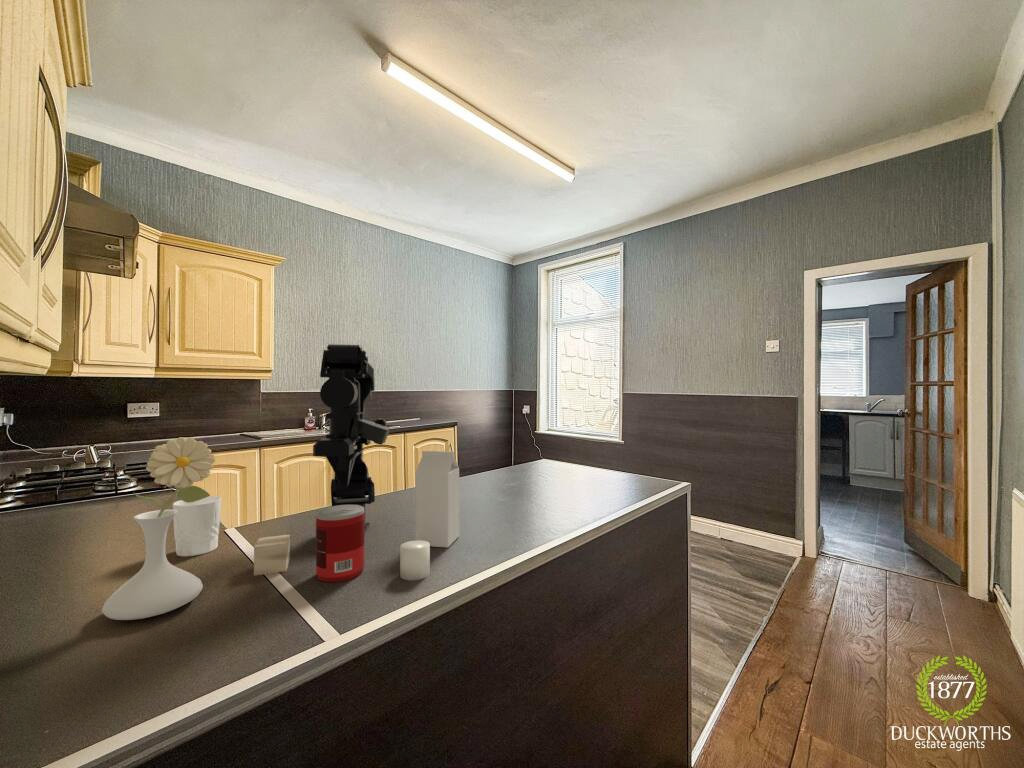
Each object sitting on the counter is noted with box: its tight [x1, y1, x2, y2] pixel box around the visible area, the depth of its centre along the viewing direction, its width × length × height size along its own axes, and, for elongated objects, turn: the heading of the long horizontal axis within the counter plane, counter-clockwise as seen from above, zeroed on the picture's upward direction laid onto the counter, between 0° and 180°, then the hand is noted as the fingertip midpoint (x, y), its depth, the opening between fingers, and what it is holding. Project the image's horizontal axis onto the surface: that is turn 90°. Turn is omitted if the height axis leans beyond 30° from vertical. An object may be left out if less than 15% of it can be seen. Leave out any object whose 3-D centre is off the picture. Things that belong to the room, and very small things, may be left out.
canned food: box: [315, 505, 366, 583], centre depth 75 cm, size 8×8×11 cm
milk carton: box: [415, 450, 460, 548], centre depth 91 cm, size 7×7×19 cm
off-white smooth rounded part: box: [399, 539, 431, 581], centre depth 74 cm, size 5×5×5 cm
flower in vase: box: [101, 436, 216, 621], centre depth 64 cm, size 13×11×25 cm
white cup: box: [172, 495, 222, 557], centre depth 86 cm, size 8×8×10 cm
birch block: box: [253, 534, 291, 577], centre depth 77 cm, size 5×5×5 cm
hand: (344, 486), depth 85 cm, fingers closed
